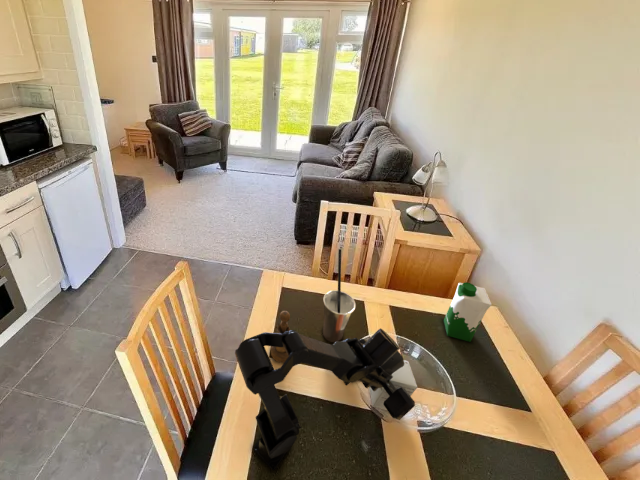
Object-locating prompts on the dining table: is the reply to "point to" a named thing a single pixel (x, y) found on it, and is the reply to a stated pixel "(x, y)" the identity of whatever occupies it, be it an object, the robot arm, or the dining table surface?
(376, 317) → the dining table surface
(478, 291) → the milk carton
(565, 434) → the dining table surface
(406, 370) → the white packaging box
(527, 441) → the dining table surface
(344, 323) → the steel tumbler with straw
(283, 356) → the wooden pepper mill
